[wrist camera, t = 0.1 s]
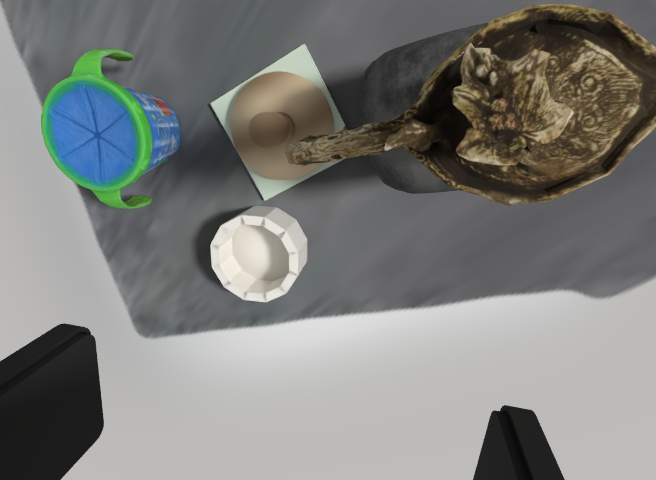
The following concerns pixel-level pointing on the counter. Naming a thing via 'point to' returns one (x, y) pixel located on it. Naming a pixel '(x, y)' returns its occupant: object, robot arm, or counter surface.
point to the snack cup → (107, 130)
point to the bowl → (259, 253)
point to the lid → (278, 122)
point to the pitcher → (502, 107)
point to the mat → (291, 63)
